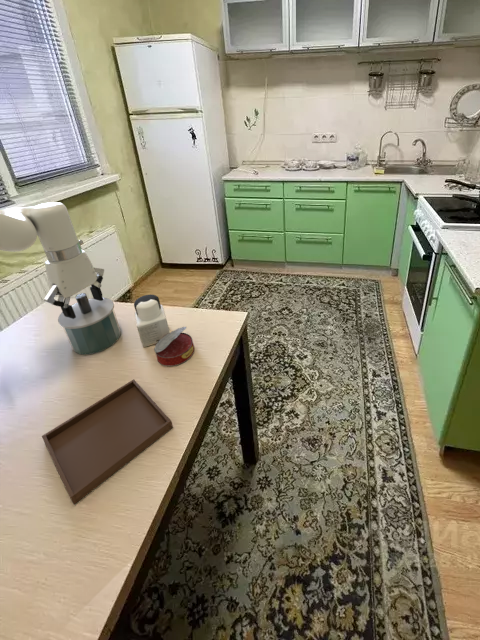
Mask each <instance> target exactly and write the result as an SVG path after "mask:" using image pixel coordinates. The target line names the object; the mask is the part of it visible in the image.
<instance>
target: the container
mask: <svg viewBox="0 0 480 640" xmlns="http://www.w3.org/2000/svg"><path fill="white" fill-rule="evenodd" d="M133 307H134V310H135V311H134V317H135V325H136V328H137V332H138V335H139V339H140V342H141V346H142V347H143V348H146V347H149V346H152V345H156V344H157V342H158V341H159V340H160V339H162V338H163V337H164V336H166V335H167V334H169V333H170V332H171V330H170V328H169V323H168V319H167V315H166V312H165V308H164V305H163V304H161V302H160V298H159V296H157V295H155V294H145V295H142V296H140V297H138V298H137V299H136V300H135V301H134V303H133Z"/></svg>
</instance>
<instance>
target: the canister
mask: <svg viewBox="0 0 480 640" xmlns="http://www.w3.org/2000/svg"><path fill="white" fill-rule="evenodd" d="M62 329H63V331H64V334H65V336H66V338H67V341H68V342H69V345H70V347H71V349H72V350H73V352H74V353H75V354H78V355H93V354H97V353H100V352H103V351H104V350H106V349H108V348H111V346H113V345H114V344H115V343H116V342H117V341H118V340H119V339H120V336H121V333H122V332H121V327H120V324H119V321H118V318H117V315H116V312H115V309H113V311H112V312H111V313H110V314H109V315H108V316H107V317H106V318H104V319H103V320H101V321H99V322H97V323H95V324H93V325H90V326H87V327H83V328H76V329H68V328H64V327H62Z"/></svg>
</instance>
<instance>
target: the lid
mask: <svg viewBox="0 0 480 640" xmlns="http://www.w3.org/2000/svg"><path fill="white" fill-rule="evenodd" d="M75 301H76V302H75V303H73V304H72V305H71V304H70V305H71V306H72V308H73V310H74V313H75V315H76V318H74V319H72V318H69V317H65V316H64V314H63V312H62V311H61V312H60V313H59V315H58V318H57V322H58V324H59V326H60V327H61V328H63V327H64V328H68V329H76V328H83V327H87V326H90V325H93V324H95V323H97V322H99V321H101V320H103V319H104V318H106V317H107V316H108V315H109V314H110V313H111V312H112V311H113V309H114V308H115V303H114V301H113V300H112V299H111V298H108V297H103V300H102V301H99V300H95V299H94V298H93V297H91V298H89V297H88V295H87V293H85V292H81V293H77V294H75ZM114 310H115V309H114Z"/></svg>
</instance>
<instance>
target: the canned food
mask: <svg viewBox="0 0 480 640" xmlns="http://www.w3.org/2000/svg"><path fill="white" fill-rule="evenodd" d="M186 329H187V326H181V327H178V328H176V329H174V330H172V331H170V333H169V334H167V335H166V336H164V337H163V338H162V339H160V340H159V341H158V342H157V343H156V344H155V345H154V348H153V351H154V353H155V356H156V360H157V362H158V363H159V364H160V365H161V366H165V367H176V366H179V365H182V364H183V363H186V362H187V361H188V360H190V359H191V358H192V356H193V354H194V352H195V346H194V345H195V344H194V341H193V336H192V335H190V334H188V333H186V332H184V331H185V330H186Z"/></svg>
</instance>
